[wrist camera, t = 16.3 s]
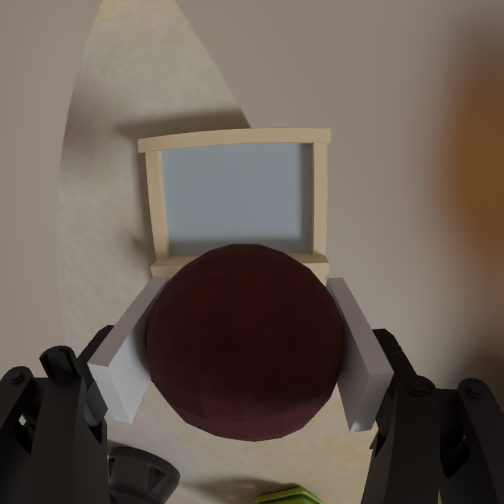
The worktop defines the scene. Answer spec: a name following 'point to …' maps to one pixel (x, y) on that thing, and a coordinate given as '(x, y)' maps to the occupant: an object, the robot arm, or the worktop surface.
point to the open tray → (238, 194)
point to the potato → (245, 343)
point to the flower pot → (289, 497)
